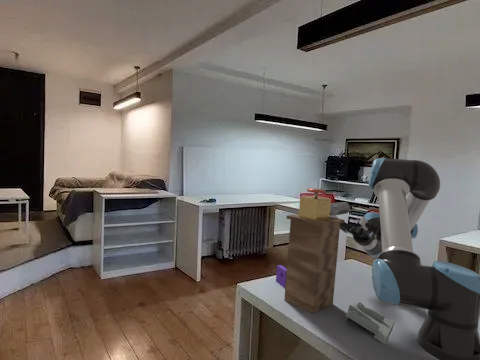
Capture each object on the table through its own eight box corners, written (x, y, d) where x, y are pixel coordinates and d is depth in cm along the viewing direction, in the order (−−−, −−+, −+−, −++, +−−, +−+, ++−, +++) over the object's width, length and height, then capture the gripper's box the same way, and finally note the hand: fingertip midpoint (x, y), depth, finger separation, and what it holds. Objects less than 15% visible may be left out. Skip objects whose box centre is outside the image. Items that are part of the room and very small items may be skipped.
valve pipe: (335, 212, 127) (338, 187, 127) (352, 215, 122) (354, 189, 121) (298, 217, 111) (300, 188, 110) (316, 220, 106) (318, 191, 105)
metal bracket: (343, 310, 97) (356, 294, 109) (336, 326, 98) (350, 309, 111) (391, 341, 90) (400, 320, 102) (383, 357, 91) (393, 335, 103)
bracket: (284, 288, 125) (285, 271, 125) (275, 281, 131) (277, 265, 131) (310, 285, 130) (311, 269, 129) (301, 279, 136) (302, 263, 135)
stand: (304, 290, 124) (310, 212, 122) (336, 304, 114) (344, 219, 111) (280, 299, 114) (286, 215, 112) (313, 315, 104) (321, 223, 102)
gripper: (391, 253, 129) (373, 232, 116) (335, 239, 147) (314, 219, 134) (397, 236, 131) (379, 213, 118) (341, 224, 149) (320, 203, 136)
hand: (344, 216), depth 126 cm, fingers open, 13 cm apart
